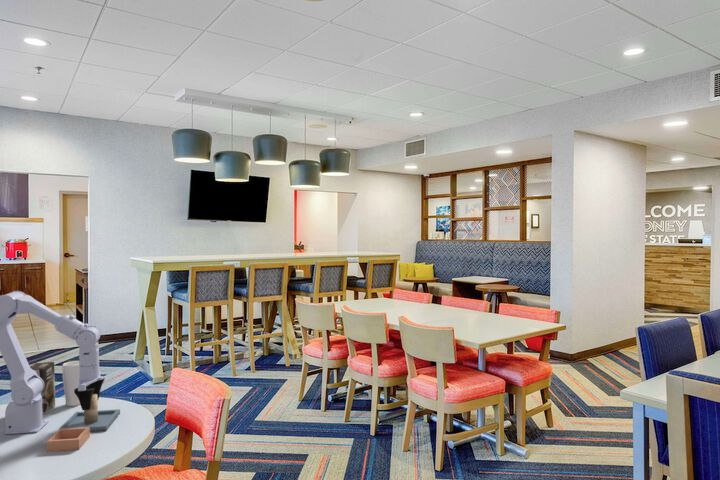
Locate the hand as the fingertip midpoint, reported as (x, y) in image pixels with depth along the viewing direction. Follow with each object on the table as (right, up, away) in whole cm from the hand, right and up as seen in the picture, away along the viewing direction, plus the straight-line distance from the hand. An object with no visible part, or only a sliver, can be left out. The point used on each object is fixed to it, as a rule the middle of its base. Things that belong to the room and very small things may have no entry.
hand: (90, 405), depth 165 cm
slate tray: (0, -6, 0) cm, 6 cm away
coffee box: (-23, -6, +11) cm, 26 cm away
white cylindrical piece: (-15, -5, +17) cm, 23 cm away
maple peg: (0, -5, 0) cm, 5 cm away
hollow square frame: (+1, -7, -15) cm, 16 cm away
